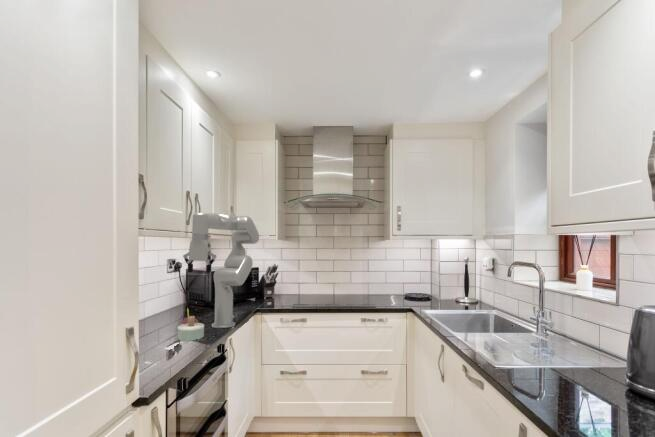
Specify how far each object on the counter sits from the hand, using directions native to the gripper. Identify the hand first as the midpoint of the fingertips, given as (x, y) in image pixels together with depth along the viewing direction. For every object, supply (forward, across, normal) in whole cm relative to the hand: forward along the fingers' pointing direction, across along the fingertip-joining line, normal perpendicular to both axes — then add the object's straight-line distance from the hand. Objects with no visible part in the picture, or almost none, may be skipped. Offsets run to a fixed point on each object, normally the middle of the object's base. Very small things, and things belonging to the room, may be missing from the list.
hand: (199, 272), depth 176 cm
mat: (+31, -2, +17) cm, 36 cm away
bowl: (+31, +2, +3) cm, 32 cm away
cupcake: (+32, +10, -9) cm, 34 cm away
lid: (+26, +2, +3) cm, 27 cm away
